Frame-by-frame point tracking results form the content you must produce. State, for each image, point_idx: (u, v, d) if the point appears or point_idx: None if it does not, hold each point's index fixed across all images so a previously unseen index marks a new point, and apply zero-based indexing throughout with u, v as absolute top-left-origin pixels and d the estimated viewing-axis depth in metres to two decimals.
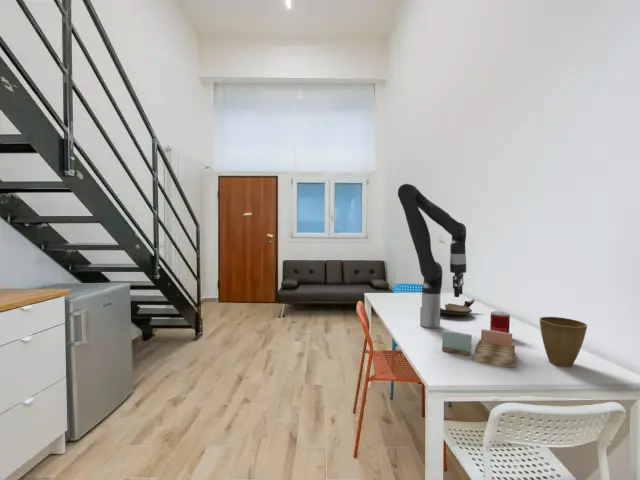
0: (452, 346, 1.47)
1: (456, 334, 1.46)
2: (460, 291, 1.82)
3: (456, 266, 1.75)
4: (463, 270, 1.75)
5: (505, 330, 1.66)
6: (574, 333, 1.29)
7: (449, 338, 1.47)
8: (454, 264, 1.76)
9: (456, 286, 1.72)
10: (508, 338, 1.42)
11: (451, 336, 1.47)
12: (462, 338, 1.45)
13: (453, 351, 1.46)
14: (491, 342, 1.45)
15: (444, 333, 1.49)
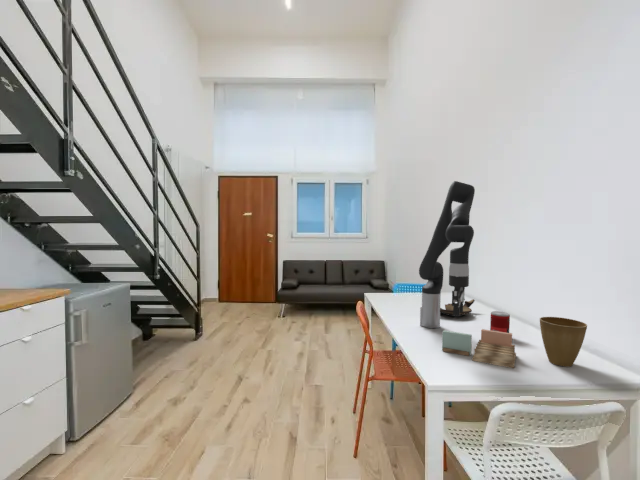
0: (452, 346, 1.47)
1: (456, 334, 1.46)
2: (460, 308, 1.50)
3: (457, 278, 1.43)
4: (465, 284, 1.43)
5: (505, 330, 1.66)
6: (574, 333, 1.29)
7: (449, 338, 1.47)
8: (454, 276, 1.44)
9: (456, 303, 1.40)
10: (508, 338, 1.42)
11: (451, 336, 1.47)
12: (462, 338, 1.45)
13: (453, 351, 1.46)
14: (491, 342, 1.45)
15: (444, 333, 1.48)
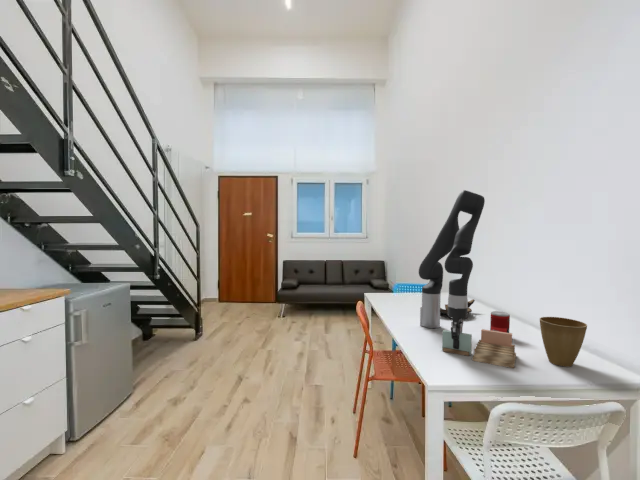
0: (452, 346, 1.47)
1: None
2: None
3: (455, 310, 1.43)
4: (464, 316, 1.43)
5: (505, 330, 1.66)
6: (574, 333, 1.29)
7: (449, 338, 1.48)
8: (453, 308, 1.44)
9: (456, 337, 1.43)
10: (508, 338, 1.42)
11: (451, 336, 1.47)
12: (462, 338, 1.45)
13: (453, 351, 1.46)
14: (491, 342, 1.45)
15: (444, 333, 1.49)
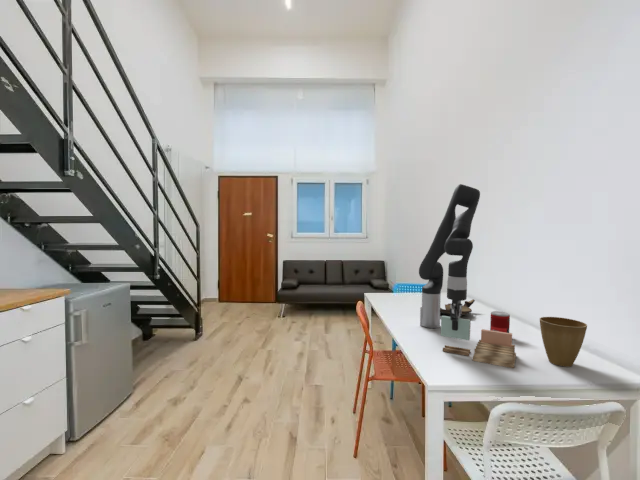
0: (451, 331, 1.47)
1: None
2: None
3: (454, 292, 1.43)
4: (463, 297, 1.43)
5: (505, 330, 1.66)
6: (574, 333, 1.29)
7: (448, 323, 1.48)
8: (452, 289, 1.44)
9: (455, 318, 1.43)
10: (508, 338, 1.42)
11: (450, 321, 1.47)
12: (461, 323, 1.45)
13: (453, 351, 1.46)
14: (491, 342, 1.45)
15: (443, 318, 1.49)
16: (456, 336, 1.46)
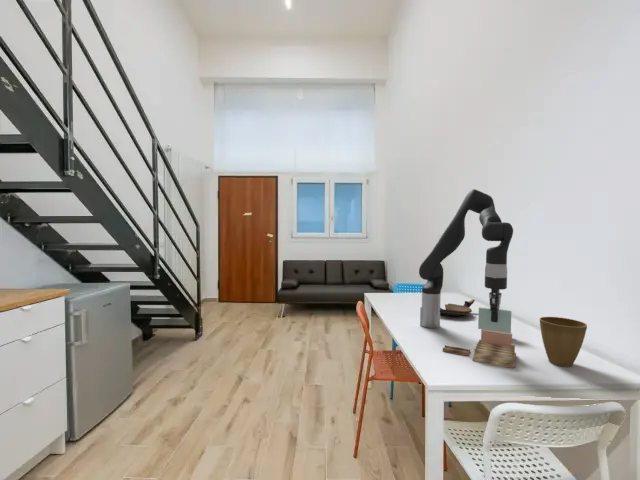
0: (490, 324, 1.36)
1: None
2: None
3: (494, 280, 1.32)
4: (503, 286, 1.32)
5: None
6: (574, 333, 1.29)
7: (486, 315, 1.37)
8: (491, 277, 1.33)
9: (495, 308, 1.33)
10: (508, 338, 1.42)
11: (488, 313, 1.36)
12: (501, 315, 1.34)
13: (453, 351, 1.46)
14: (491, 342, 1.45)
15: (480, 310, 1.38)
16: (496, 329, 1.35)
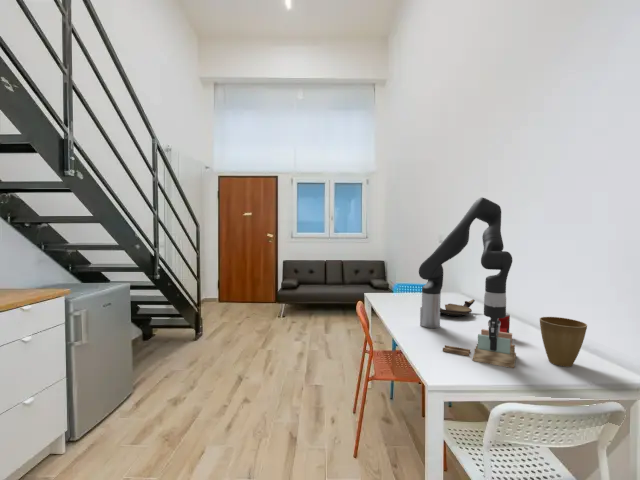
0: None
1: None
2: None
3: (493, 309, 1.33)
4: (502, 315, 1.33)
5: (505, 330, 1.66)
6: (574, 333, 1.29)
7: (486, 342, 1.37)
8: (490, 306, 1.33)
9: (494, 337, 1.33)
10: (508, 338, 1.42)
11: (487, 341, 1.37)
12: (500, 343, 1.34)
13: (453, 351, 1.46)
14: None
15: (480, 337, 1.38)
16: None
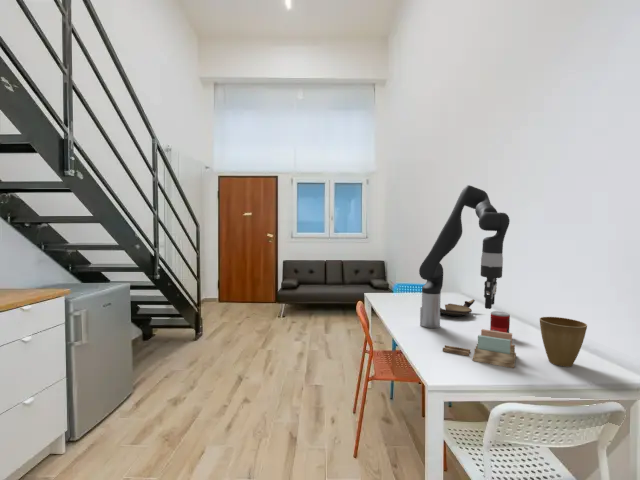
0: None
1: (493, 339, 1.36)
2: (492, 300, 1.42)
3: (490, 269, 1.35)
4: (498, 274, 1.35)
5: (505, 330, 1.66)
6: (574, 333, 1.29)
7: (486, 343, 1.37)
8: (487, 266, 1.36)
9: (489, 295, 1.33)
10: (508, 338, 1.42)
11: (487, 341, 1.37)
12: (500, 343, 1.34)
13: (453, 351, 1.46)
14: None
15: (480, 338, 1.38)
16: None
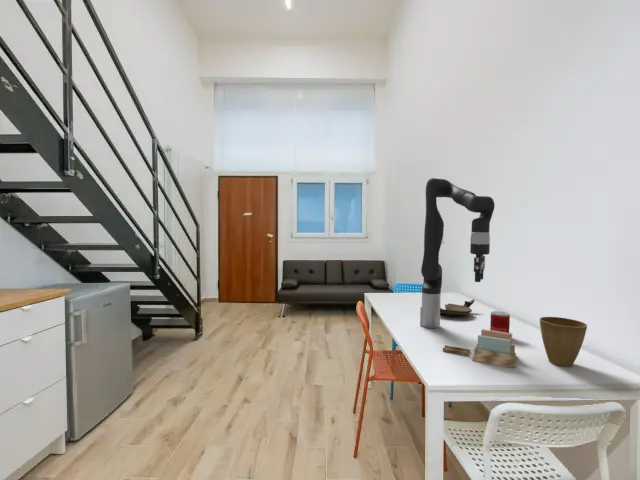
0: None
1: (493, 339, 1.36)
2: (481, 276, 1.58)
3: (478, 246, 1.51)
4: (486, 251, 1.51)
5: (505, 330, 1.66)
6: (574, 333, 1.29)
7: (486, 343, 1.37)
8: (476, 244, 1.52)
9: (478, 269, 1.49)
10: (508, 338, 1.42)
11: (487, 341, 1.37)
12: (500, 343, 1.34)
13: (453, 351, 1.46)
14: None
15: (480, 338, 1.38)
16: None
